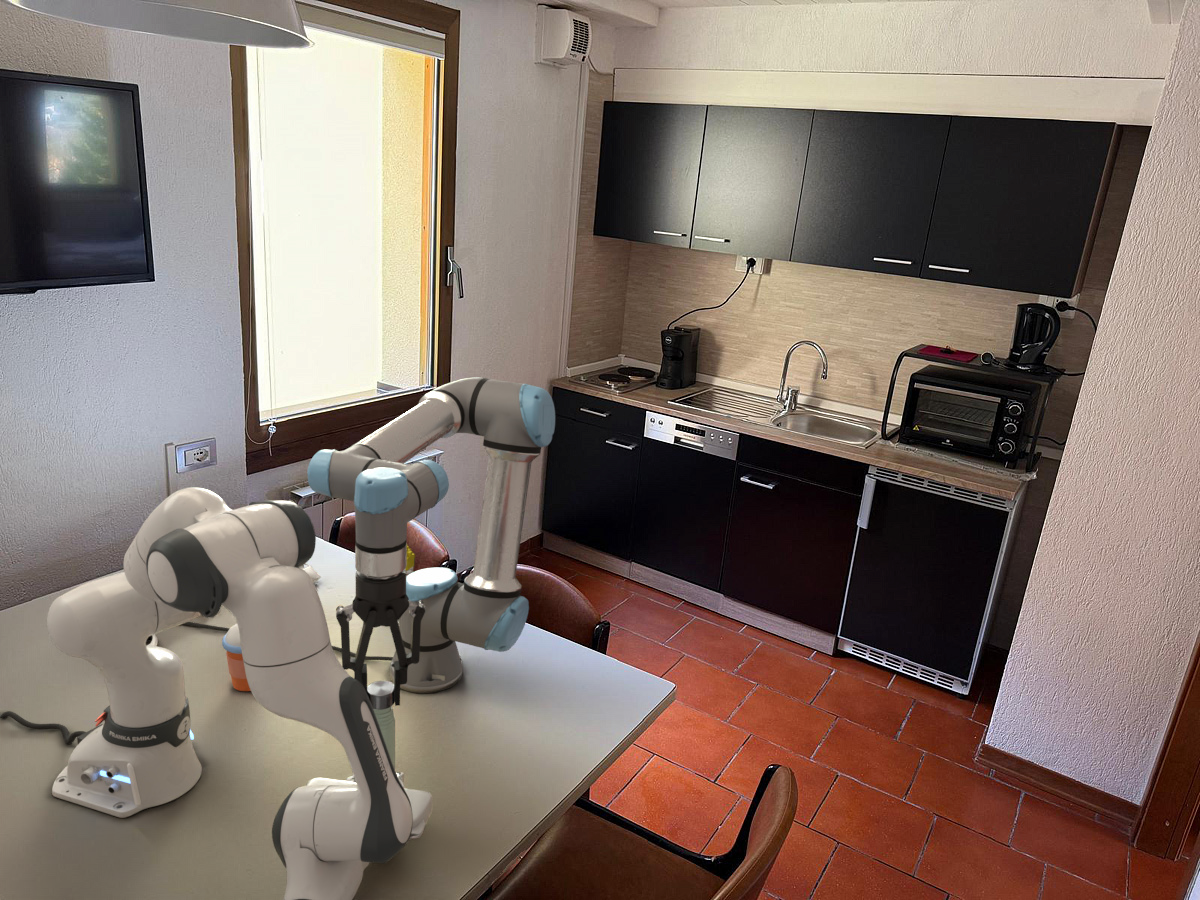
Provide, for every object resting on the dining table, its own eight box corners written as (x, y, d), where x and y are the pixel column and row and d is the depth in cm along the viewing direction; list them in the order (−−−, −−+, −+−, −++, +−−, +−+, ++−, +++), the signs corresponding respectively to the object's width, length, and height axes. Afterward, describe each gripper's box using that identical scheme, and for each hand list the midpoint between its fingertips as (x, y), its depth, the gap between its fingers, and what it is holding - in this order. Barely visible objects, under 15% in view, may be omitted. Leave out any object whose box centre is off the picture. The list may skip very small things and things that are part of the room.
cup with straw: (256, 699, 169) (252, 618, 164) (214, 691, 170) (209, 610, 165) (281, 675, 177) (278, 597, 172) (242, 667, 179) (238, 590, 174)
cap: (382, 713, 134) (382, 699, 133) (360, 704, 136) (360, 690, 135) (401, 700, 138) (401, 686, 137) (379, 690, 140) (379, 677, 139)
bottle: (369, 800, 145) (368, 682, 138) (396, 800, 145) (397, 683, 139) (364, 819, 140) (363, 698, 134) (392, 819, 141) (393, 699, 134)
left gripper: (419, 824, 127) (444, 765, 140) (286, 807, 128) (323, 749, 142) (418, 859, 129) (443, 797, 142) (287, 841, 130) (323, 781, 143)
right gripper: (436, 556, 136) (433, 684, 143) (321, 561, 131) (324, 694, 138) (441, 577, 129) (438, 710, 136) (320, 583, 124) (323, 721, 131)
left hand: (382, 773), depth 142 cm, fingers closed on bottle, 4 cm apart
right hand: (380, 702), depth 137 cm, fingers closed on cap, 4 cm apart
